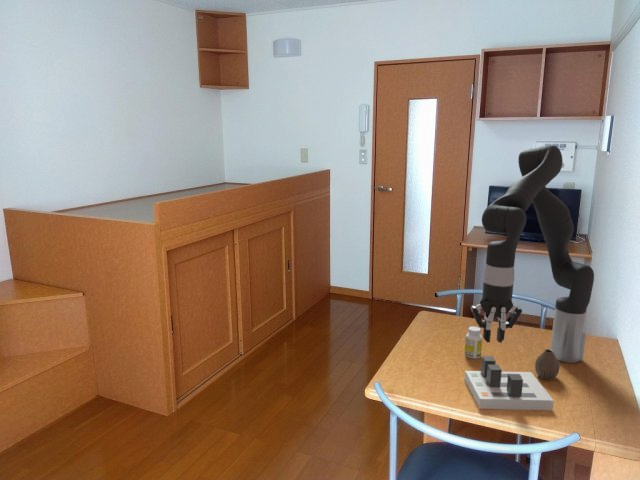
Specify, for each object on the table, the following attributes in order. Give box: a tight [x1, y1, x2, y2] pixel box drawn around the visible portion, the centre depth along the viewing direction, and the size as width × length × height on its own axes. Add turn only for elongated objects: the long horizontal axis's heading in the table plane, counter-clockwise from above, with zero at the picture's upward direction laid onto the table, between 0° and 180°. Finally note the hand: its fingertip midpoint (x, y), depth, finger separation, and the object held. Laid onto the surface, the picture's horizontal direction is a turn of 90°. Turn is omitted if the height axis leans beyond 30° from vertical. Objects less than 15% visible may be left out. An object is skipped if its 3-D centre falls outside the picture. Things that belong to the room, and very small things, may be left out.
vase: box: [534, 348, 560, 381], centre depth 151 cm, size 7×7×9 cm
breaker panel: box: [464, 355, 555, 411], centre depth 141 cm, size 20×16×8 cm
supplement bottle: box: [464, 325, 483, 359], centre depth 166 cm, size 5×5×10 cm
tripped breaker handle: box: [507, 374, 523, 396], centre depth 136 cm, size 3×3×5 cm
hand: (493, 341), depth 133 cm, fingers open, 2 cm apart
